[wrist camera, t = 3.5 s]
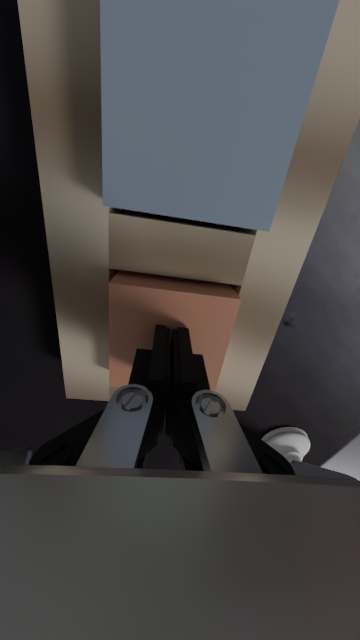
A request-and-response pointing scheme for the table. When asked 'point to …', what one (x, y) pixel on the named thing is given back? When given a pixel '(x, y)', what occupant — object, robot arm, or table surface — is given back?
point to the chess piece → (289, 442)
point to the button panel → (159, 233)
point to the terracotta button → (168, 318)
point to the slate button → (206, 103)
